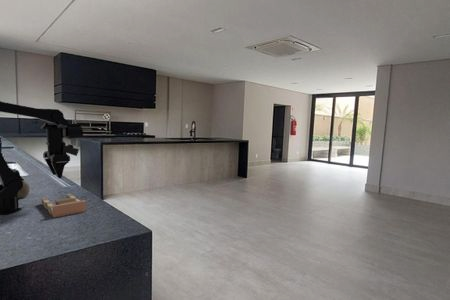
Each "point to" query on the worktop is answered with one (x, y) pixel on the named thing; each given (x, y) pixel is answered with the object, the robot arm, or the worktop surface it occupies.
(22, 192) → the vase
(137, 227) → the worktop surface
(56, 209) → the end stop
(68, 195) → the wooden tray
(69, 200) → the keeper
